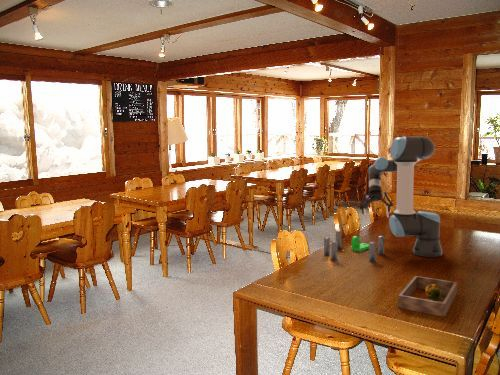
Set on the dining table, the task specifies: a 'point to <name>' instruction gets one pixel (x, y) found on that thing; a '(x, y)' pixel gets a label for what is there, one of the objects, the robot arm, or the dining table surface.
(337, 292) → the dining table surface
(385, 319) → the dining table surface
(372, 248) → the spacer posts
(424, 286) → the wooden tray
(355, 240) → the mechanical part
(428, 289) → the christmas decoration
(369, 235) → the dining table surface
